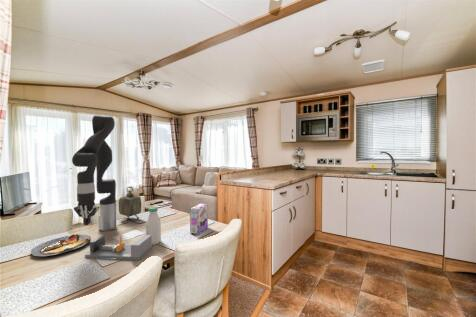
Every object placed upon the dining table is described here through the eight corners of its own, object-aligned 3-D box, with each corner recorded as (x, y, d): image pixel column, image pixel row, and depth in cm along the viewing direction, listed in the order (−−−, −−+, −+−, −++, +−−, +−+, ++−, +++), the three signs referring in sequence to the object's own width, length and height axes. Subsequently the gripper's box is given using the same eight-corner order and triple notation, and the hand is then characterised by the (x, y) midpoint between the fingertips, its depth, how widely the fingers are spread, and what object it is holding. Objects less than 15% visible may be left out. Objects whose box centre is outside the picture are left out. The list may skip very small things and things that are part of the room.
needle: (116, 252, 106) (116, 236, 105) (122, 247, 110) (122, 232, 110) (118, 252, 105) (117, 236, 105) (124, 247, 110) (124, 232, 110)
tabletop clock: (141, 218, 162) (141, 186, 161) (131, 222, 153) (130, 188, 152) (128, 216, 168) (127, 185, 167) (118, 219, 159) (117, 187, 158)
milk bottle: (163, 240, 123) (163, 206, 122) (154, 246, 116) (154, 210, 115) (153, 238, 126) (152, 205, 125) (143, 244, 118) (142, 209, 118)
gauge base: (85, 257, 104) (84, 242, 103) (103, 246, 115) (102, 233, 115) (138, 260, 101) (138, 245, 100) (151, 249, 113) (151, 235, 112)
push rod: (90, 252, 105) (89, 241, 105) (102, 245, 113) (101, 235, 113) (112, 253, 104) (112, 243, 104) (122, 246, 112) (122, 236, 112)
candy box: (198, 235, 131) (197, 209, 130) (189, 233, 133) (189, 208, 132) (208, 227, 144) (208, 203, 144) (200, 226, 146) (200, 203, 145)
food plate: (84, 234, 132) (83, 228, 131) (97, 245, 117) (96, 239, 117) (28, 250, 112) (27, 243, 112) (35, 265, 98) (34, 258, 97)
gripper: (103, 190, 112) (104, 222, 112) (80, 190, 113) (81, 222, 114) (92, 193, 104) (93, 227, 105) (67, 192, 106) (68, 227, 106)
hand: (86, 224), depth 109 cm, fingers closed
